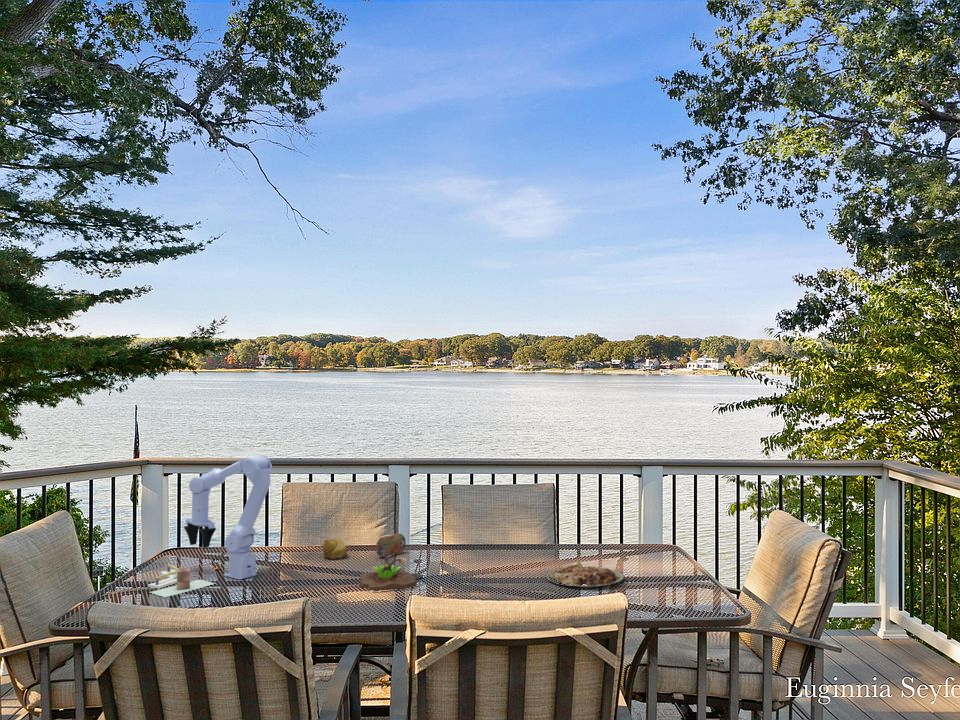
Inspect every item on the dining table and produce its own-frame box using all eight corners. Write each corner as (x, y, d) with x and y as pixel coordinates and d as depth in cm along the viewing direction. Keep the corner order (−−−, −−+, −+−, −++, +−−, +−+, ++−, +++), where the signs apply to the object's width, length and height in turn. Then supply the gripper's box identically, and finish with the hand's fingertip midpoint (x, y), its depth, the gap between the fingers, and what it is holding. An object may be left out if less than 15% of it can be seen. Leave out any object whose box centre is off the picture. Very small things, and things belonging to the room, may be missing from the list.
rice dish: (535, 588, 252) (535, 572, 252) (559, 566, 277) (559, 552, 277) (614, 598, 241) (614, 582, 241) (631, 575, 266) (631, 560, 266)
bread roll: (323, 553, 296) (323, 533, 296) (347, 552, 297) (347, 533, 297) (321, 561, 283) (322, 540, 283) (346, 560, 284) (347, 540, 285)
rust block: (189, 585, 246) (189, 568, 246) (189, 588, 242) (190, 570, 242) (176, 586, 244) (177, 569, 244) (176, 590, 240) (177, 572, 241)
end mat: (215, 584, 248) (215, 583, 248) (165, 598, 233) (165, 596, 233) (199, 580, 253) (199, 579, 253) (149, 593, 238) (149, 592, 238)
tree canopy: (380, 559, 285) (380, 538, 286) (374, 558, 287) (375, 537, 288) (406, 552, 297) (406, 532, 298) (400, 551, 299) (400, 531, 300)
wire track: (199, 578, 255) (200, 568, 256) (156, 590, 242) (156, 579, 242) (172, 571, 265) (172, 561, 265) (128, 582, 251) (129, 571, 251)
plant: (408, 575, 264) (408, 544, 265) (421, 589, 246) (421, 556, 246) (353, 579, 258) (354, 548, 258) (363, 594, 239) (364, 561, 240)
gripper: (221, 509, 266) (221, 546, 266) (197, 505, 274) (196, 541, 273) (205, 512, 260) (204, 549, 260) (181, 508, 268) (180, 544, 267)
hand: (199, 545), depth 266 cm, fingers open, 7 cm apart
